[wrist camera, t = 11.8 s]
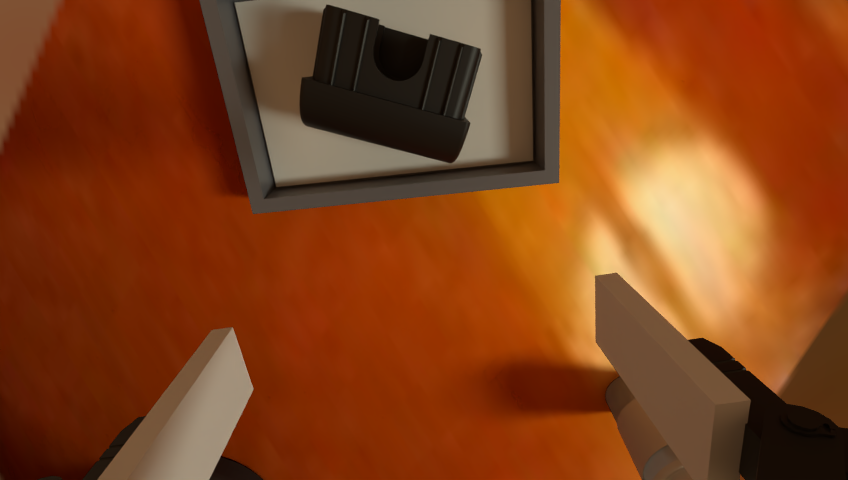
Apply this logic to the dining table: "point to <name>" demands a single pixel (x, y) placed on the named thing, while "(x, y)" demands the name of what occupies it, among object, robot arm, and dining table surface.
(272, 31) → the shallow grey tray
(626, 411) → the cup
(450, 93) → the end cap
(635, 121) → the dining table surface
